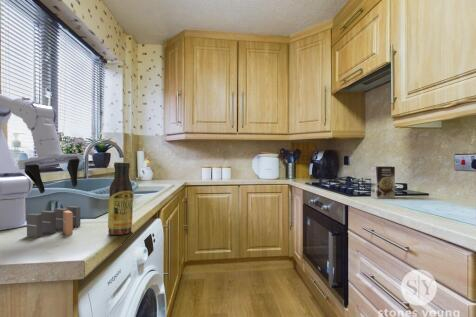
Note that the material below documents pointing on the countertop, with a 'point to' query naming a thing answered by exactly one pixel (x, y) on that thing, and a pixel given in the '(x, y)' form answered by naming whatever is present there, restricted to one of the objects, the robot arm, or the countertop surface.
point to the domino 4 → (68, 222)
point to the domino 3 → (59, 218)
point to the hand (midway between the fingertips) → (59, 188)
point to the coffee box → (383, 182)
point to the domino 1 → (34, 225)
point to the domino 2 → (48, 222)
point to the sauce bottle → (120, 201)
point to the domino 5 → (75, 215)
